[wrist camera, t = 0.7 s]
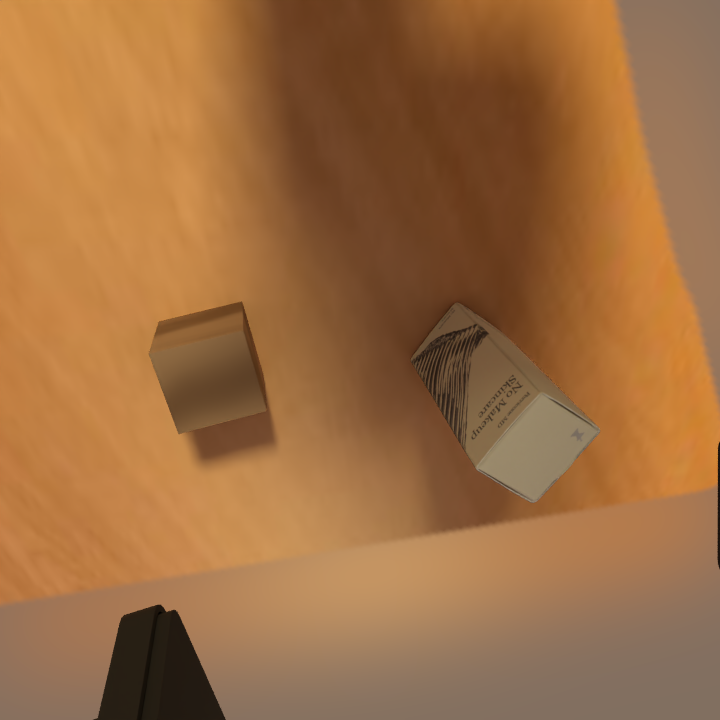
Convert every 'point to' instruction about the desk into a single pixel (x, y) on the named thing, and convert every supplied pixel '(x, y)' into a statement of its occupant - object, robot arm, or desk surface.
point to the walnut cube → (208, 367)
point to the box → (501, 404)
